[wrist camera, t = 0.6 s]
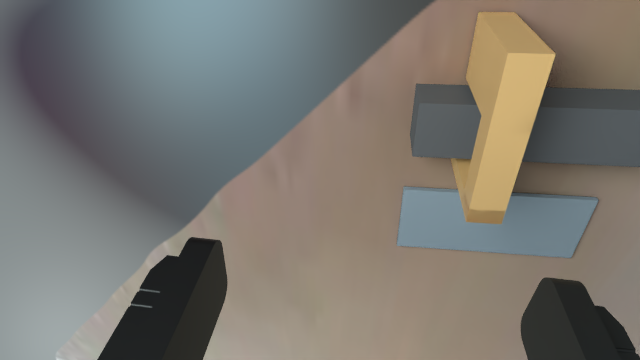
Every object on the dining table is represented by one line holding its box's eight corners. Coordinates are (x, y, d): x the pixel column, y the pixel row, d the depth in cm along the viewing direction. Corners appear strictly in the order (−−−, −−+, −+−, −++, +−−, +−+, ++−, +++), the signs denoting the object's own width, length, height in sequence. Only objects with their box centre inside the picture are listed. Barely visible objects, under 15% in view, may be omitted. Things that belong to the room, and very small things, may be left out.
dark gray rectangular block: (643, 88, 26) (672, 111, 23) (619, 140, 28) (642, 167, 26) (415, 81, 27) (419, 103, 25) (409, 132, 30) (412, 156, 27)
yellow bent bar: (514, 12, 24) (555, 54, 18) (479, 158, 30) (501, 224, 24) (478, 11, 24) (508, 53, 18) (450, 157, 30) (465, 222, 24)
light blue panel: (596, 197, 31) (598, 200, 30) (569, 254, 34) (570, 257, 34) (403, 186, 32) (404, 189, 32) (396, 242, 36) (397, 245, 35)
